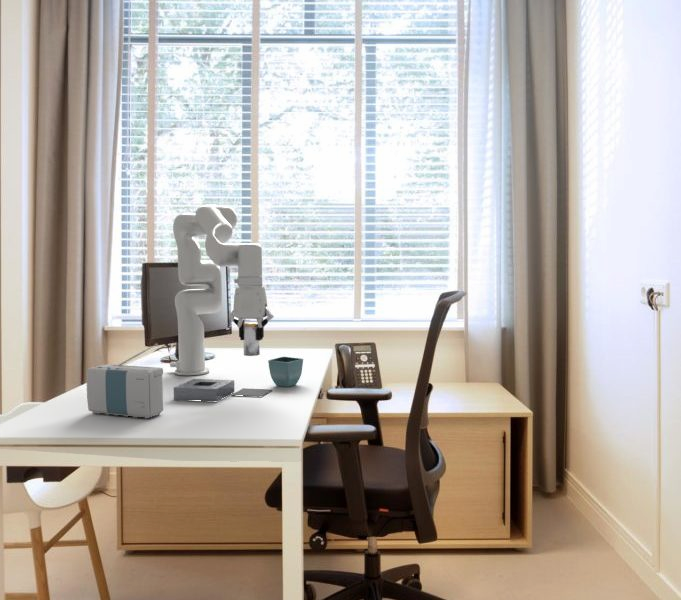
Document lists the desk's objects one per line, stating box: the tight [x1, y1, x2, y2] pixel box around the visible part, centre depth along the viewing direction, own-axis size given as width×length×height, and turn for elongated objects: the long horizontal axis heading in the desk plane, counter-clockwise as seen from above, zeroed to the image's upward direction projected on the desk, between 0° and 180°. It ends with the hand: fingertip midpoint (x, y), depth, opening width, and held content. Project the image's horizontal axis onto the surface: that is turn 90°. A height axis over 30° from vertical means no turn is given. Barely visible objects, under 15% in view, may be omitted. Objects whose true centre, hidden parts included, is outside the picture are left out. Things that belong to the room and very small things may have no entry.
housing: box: [173, 378, 235, 402], centre depth 195 cm, size 14×14×4 cm
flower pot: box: [267, 356, 304, 388], centre depth 211 cm, size 9×9×9 cm
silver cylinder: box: [242, 322, 261, 357], centre depth 198 cm, size 5×5×10 cm
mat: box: [231, 387, 273, 397], centre depth 199 cm, size 10×10×1 cm
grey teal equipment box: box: [86, 343, 164, 419], centre depth 173 cm, size 21×8×20 cm, turn 69°
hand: (251, 339), depth 198 cm, fingers closed on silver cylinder, 5 cm apart
